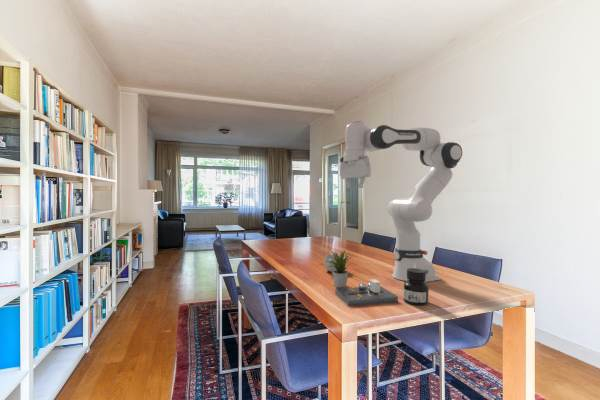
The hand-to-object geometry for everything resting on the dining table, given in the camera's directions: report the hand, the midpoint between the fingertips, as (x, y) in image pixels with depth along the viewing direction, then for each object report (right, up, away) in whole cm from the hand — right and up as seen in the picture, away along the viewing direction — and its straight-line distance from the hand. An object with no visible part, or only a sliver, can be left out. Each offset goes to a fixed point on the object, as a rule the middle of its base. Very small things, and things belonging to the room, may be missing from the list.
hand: (354, 188), depth 137 cm
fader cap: (+5, -42, -18) cm, 45 cm away
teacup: (-7, -43, +21) cm, 49 cm away
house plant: (-7, -44, -2) cm, 44 cm away
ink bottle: (+19, -44, -22) cm, 53 cm away
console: (+1, -44, -19) cm, 48 cm away
